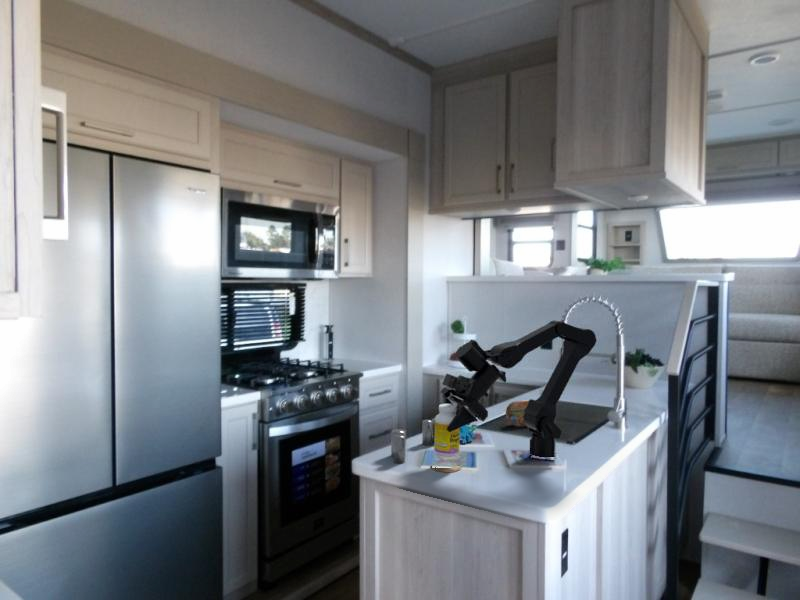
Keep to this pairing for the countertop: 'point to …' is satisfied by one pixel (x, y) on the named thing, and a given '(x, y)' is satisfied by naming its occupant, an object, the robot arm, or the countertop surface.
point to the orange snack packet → (516, 413)
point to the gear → (467, 433)
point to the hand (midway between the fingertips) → (442, 427)
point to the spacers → (400, 440)
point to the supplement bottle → (446, 432)
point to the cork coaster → (448, 469)
